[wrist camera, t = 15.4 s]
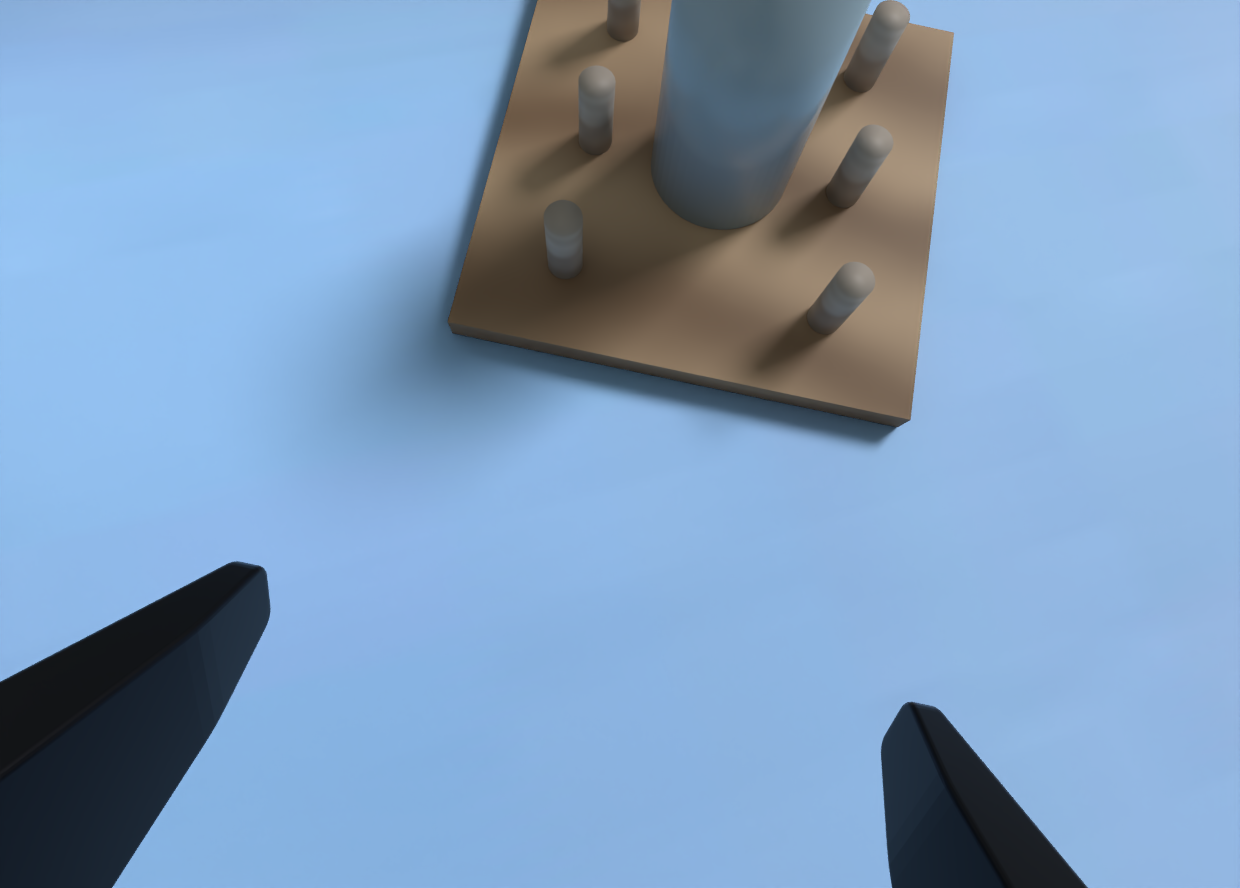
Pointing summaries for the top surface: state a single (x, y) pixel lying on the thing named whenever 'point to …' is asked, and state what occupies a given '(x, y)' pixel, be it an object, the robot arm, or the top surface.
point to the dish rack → (701, 257)
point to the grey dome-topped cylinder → (743, 101)
